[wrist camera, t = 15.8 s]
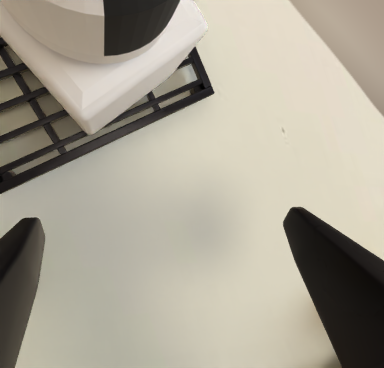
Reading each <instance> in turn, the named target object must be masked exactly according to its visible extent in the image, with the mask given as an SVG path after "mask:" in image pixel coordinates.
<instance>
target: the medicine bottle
mask: <svg viewBox="0 0 384 368" xmlns="http://www.w3.org/2000/svg"><path fill="white" fill-rule="evenodd" d="M207 28H208V24H207V21H206V20H205V18H204V16H203V15H202V13H201V11H200V10H199V8H198V6H197V5H196V3H195V2H194V0H0V36H1V37H2V38H3V39H4V40H5V42H6V43H7V44H8V45H9V46H10V47H11V48H12V49H13V51H14V52H15V53H16V54H17V55H18V56H19V57H20V59H21V60H22V61H23V62H24V63H25V64H26V65H27V67H28V68H29V69H30V70H31V71H32V72H33V73H34V75H35V76H36V77H37V78H38V79H39V80H40V81H41V83H42V84H43V85H44V86H45V87H46V88H47V89H48V91H49V92H50V93H51V94H52V95H53V96H54V97H55V99H56V100H57V101H58V102H59V103H60V104H61V105H62V107H63V108H64V109H65V110H66V111H67V112H68V113H69V115H70V116H71V117H72V118H73V119H74V120H75V121H76V123H77V124H78V125H79V126H80V127H81V128H82V129H83V131H84V132H85V133H87V134H88V135H93V134H95V133H96V132H97V131H99V130H100V129H101V128H103V127H104V126H105V125H107V124H108V123H109V122H111V121H112V120H113V119H115V118H116V117H117V116H119V115H120V114H121V113H123V112H124V111H125V110H127V109H128V108H129V107H131V106H132V105H133V104H135V103H136V102H137V101H139V100H140V99H141V98H143V97H144V96H145V95H147V94H148V93H149V92H151V91H152V90H153V89H155V88H156V87H157V86H159V85H160V84H161V83H163V82H164V81H165V80H167V79H168V78H169V77H170V76H171V75H172V74H173V72H174V71H175V70H176V69H177V67H178V66H179V65H180V64H181V63H182V61H183V60H184V59H185V58H186V57H187V55H188V54H189V53H190V52H191V50H192V49H193V48H194V47H195V46H196V44H197V43H198V42H199V41H200V40H201V38H202V37H203V36H204V35H205V33H206V32H207Z"/></svg>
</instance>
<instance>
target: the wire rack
mask: <svg viewBox="0 0 384 368" xmlns="http://www.w3.org/2000/svg"><path fill="white" fill-rule="evenodd" d="M7 45H8V44H7V43H6V42H5V40H4V39H3V38H2V37H1V38H0V56H1V57H2V59H3V60H4V62H5V64H6V65H7V67H8V69H5V70H2V71H0V80H3V79H6V78H9V77H11V76H13V77H14V79H15V80H16V82H17V84H18V85H19V87H20V89H21V90H22V92H23V93H24V95H22V96H19V97H17V98H14V99H12V100H9V101H6V102H4V103H1V104H0V113H1V112H3V111H6V110H8V109H11V108H13V107H16V106H18V105H21V104H24V103H26V102H29V103H30V105H31V107H32V108H33V110H34V112H35V113H36V115H37V117H38V118H39V120H38V121H35V122H33V123H30V124H28V125H25V126H23V127H21V128H18V129H16V130H13V131H11V132H9V133H6V134H4V135H1V136H0V144H2V143H4V142H6V141H9V140H11V139H13V138H16V137H18V136H21V135H23V134H25V133H28V132H30V131H32V130H35V129H37V128H40V127H42V126H44V128H45V130H46V131H47V133H48V135H49V136H50V138H51V140H52V141H53V143H54V144H52V145H50V146H47V147H45V148H43V149H41V150H38V151H36V152H34V153H32V154H29V155H27V156H25V157H23V158H20V159H18V160H16V161H13V162H11V163H9V164H7V165H4V166H2V167H0V194H2V193H4V192H6V191H8V190H11V189H13V188H15V187H17V186H19V185H21V184H23V183H25V182H28V181H30V180H32V179H34V178H36V177H38V176H40V175H43V174H45V173H47V172H49V171H51V170H53V169H55V168H57V167H60V166H62V165H64V164H66V163H68V162H70V161H72V160H74V159H77V158H79V157H81V156H83V155H85V154H87V153H89V152H91V151H94V150H96V149H98V148H100V147H102V146H104V145H106V144H109V143H111V142H113V141H115V140H117V139H119V138H121V137H123V136H126V135H128V134H130V133H132V132H134V131H136V130H138V129H140V128H143V127H145V126H147V125H149V124H151V123H153V122H155V121H157V120H160V119H162V118H164V117H166V116H168V115H170V114H172V113H175V112H177V111H179V110H181V109H183V108H185V107H187V106H189V105H192V104H194V103H196V102H198V101H200V100H202V99H204V98H206V97H209V96H211V95H213V94H214V90H213V88H212V86H211V83H210V81H209V78H208V76H207V73H206V71H205V69H204V66H203V64H202V61H201V59H200V57H199V54H198V52H197V49H196V47H194V48H193V49H192V50H191V52H190V53H189V54H188V57H189V58H188V59H185V60H183V61H182V63H181V64H180V65H179V66H178V67H177V69H180V68H182V67H184V66H187V65H189V64H192V67H193V69H194V71H195V74H196V76H197V78H198V80H196V81H194V82H192V83H189V84H187V85H185V86H183V87H180V88H178V89H176V90H174V91H171V92H169V93H167V94H165V95H162V96H160V97H158V98H156V99H155V97H154V94H153V92H152V91H151V92H149V93H148V94H147V97H148V99H149V102H147V103H144V104H142V105H140V106H137V107H135V108H133V109H131V110H128V111H126V112H124V113H122V114H120V115H119V116H117V117H116V118H115V119H113V120H112V121H111V122H109V123H108V124H107V125H105V126H104V127H103V128H105V127H108V126H110V125H112V124H114V123H116V122H119V121H121V120H123V119H125V118H127V117H130V116H132V115H134V114H136V113H139V112H141V111H143V110H145V109H147V108H150V107H153V109H154V111H155V112H153V113H151V114H149V115H147V116H144V117H142V118H140V119H138V120H136V121H133V122H131V123H129V124H127V125H125V126H123V127H120V128H118V129H116V130H114V131H112V132H109V133H107V134H105V135H103V136H101V137H98V138H96V139H94V140H92V141H90V142H88V143H85V144H83V145H81V146H79V147H77V148H74V149H72V150H70V151H68V152H67V151H66V149H65V148H64V146H65V145H68V144H70V143H72V142H74V141H76V140H79V139H81V138H83V137H85V136H88V134H87V133H85V132H84V131H81V132H79V133H77V134H74V135H72V136H70V137H68V138H65V139H63V140H61V141H60V139H59V137H58V136H57V134H56V132H55V131H54V129H53V127H52V126H51V124H50V123H51V122H54V121H56V120H59V119H61V118H63V117H66V116H68V115H69V113H68V112H67V111H66V110H65V109H64V110H62V111H59V112H57V113H55V114H52V115H50V116H47V117H46V116H45V114H44V112H43V111H42V109H41V107H40V106H39V104H38V102H37V101H36V98H39V97H41V96H44V95H47V94H49V93H50V92H49V91H48V89H47V88H46V87H43V88H40V89H38V90H35V91H33V92H31V91H30V89H29V87H28V86H27V84H26V82H25V81H24V79H23V77H22V76H21V74H20V73H23V72H25V71H28V70H30V69H29V68H28V67H27V65H26V64H25V63H22V64H19V65H16V66H15V64H14V62H13V61H12V59H11V57H10V56H9V54H8V52H7V51H6V49H5V47H4V46H7ZM177 69H176V70H177ZM190 89H191V91H190V92H191V95H190V96H188V97H186V98H184V99H181V100H179V101H177V102H175V103H173V104H171V105H168V106H166V107H164V108H162V109H160V107H159V105H158V104H159V103H161V102H163V101H165V100H167V99H170V98H172V97H174V96H176V95H179V94H181V93H183V92H185V91H187V90H190ZM103 128H101V129H103ZM101 129H100V130H101ZM54 150H58V151H59V153H60V154H61V155H59V156H57V157H55V158H53V159H50V160H48V161H46V162H44V163H42V164H40V165H37V166H35V167H33V168H31V169H29V170H26V171H24V172H22V173H20V174H18V175H16V174H15V173H14V172H13V171H10V170H12V169H14V168H17V167H19V166H21V165H23V164H25V163H28V162H30V161H32V160H34V159H37V158H39V157H41V156H43V155H45V154H48V153H50V152H52V151H54Z"/></svg>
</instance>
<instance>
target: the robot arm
mask: <svg viewBox="0 0 384 368" xmlns="http://www.w3.org/2000/svg"><path fill="white" fill-rule="evenodd" d="M283 227H284V230H285V233H286V236H287V239H288V242H289V245H290V248H291V251H292V254H293V257H294V260H295V262H296V265H297V267H298V269H299V272H300V274H301V276H302V278H303V281H304V283H305V285H306V287H307V290H308V292H309V294H310V296H311V298H312V301H313V303H314V305H315V307H316V310H317V312H318V314H319V316H320V319H321V321H322V323H323V325H324V328H325V330H326V332H327V334H328V337H329V339H330V341H331V343H332V346H333V348H334V350H335V352H336V355H337V357H338V359H339V361H340V364H341V366H342V368H384V261H383V260H382V259H380V258H379V257H377V256H376V255H374V254H373V253H371V252H370V251H368V250H367V249H365V248H363V247H362V246H360V245H359V244H357V243H356V242H354V241H353V240H351V239H350V238H348V237H347V236H345V235H344V234H342V233H341V232H339V231H338V230H336V229H335V228H333V227H332V226H330V225H329V224H327V223H325V222H324V221H322V220H321V219H319V218H318V217H316V216H315V215H313V214H312V213H310V212H309V211H307V210H306V209H304V208H302V207H292V208H291V209H290V210H289V212H288V214H287V216H286V217H285V219H284V221H283ZM44 244H45V233H44V230H43V227H42V224H41V221H40V219H39V218H36V217H34V218H23V219H22V220H20V221H19V222H18V223H17V224H16V225H15V226H14V227H13V228H12V229H10V230H9V231H8V232H7V233H6V234H5V235H4V236H3V237H2V238H1V239H0V368H15V365H16V362H17V358H18V355H19V351H20V348H21V344H22V341H23V337H24V334H25V330H26V327H27V323H28V320H29V316H30V313H31V309H32V306H33V302H34V299H35V295H36V292H37V288H38V282H39V276H40V270H41V264H42V257H43V251H44Z"/></svg>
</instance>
